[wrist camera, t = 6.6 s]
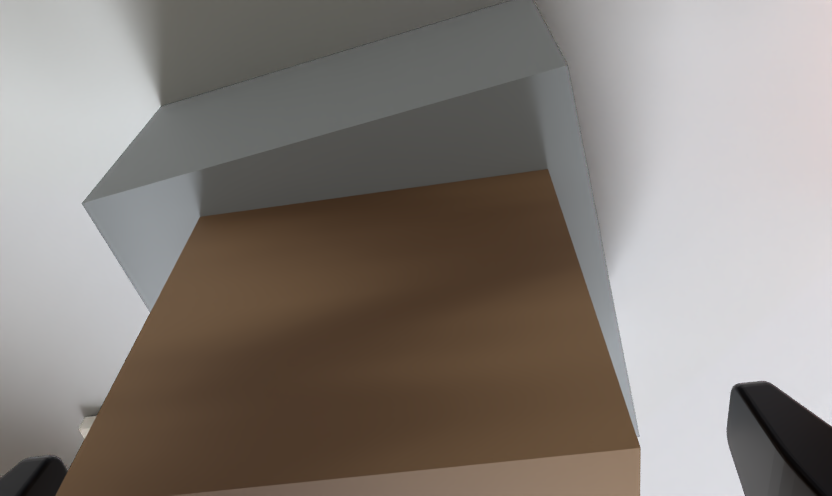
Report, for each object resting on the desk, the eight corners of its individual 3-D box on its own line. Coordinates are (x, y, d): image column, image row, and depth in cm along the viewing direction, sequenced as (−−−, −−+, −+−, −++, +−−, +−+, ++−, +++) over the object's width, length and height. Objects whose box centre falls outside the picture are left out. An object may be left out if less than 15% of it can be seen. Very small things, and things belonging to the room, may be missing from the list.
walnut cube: (547, 169, 10) (640, 447, 6) (564, 424, 13) (636, 743, 8) (199, 216, 10) (48, 508, 6) (286, 453, 13) (221, 770, 9)
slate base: (528, -9, 13) (567, 64, 9) (593, 300, 16) (639, 436, 13) (165, 101, 14) (81, 203, 10) (301, 368, 17) (273, 509, 14)
